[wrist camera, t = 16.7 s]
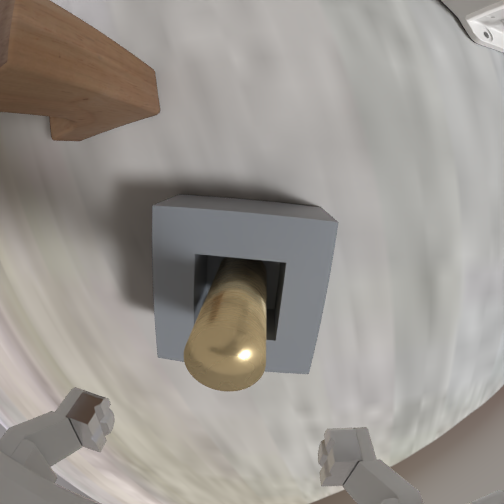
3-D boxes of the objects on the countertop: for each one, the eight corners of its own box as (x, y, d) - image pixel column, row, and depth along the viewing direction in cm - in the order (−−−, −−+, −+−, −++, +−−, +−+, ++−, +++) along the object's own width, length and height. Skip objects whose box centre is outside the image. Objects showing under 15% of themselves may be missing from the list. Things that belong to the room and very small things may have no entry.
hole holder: (320, 207, 25) (338, 222, 19) (301, 331, 28) (308, 374, 22) (179, 194, 25) (152, 205, 19) (178, 319, 29) (157, 357, 23)
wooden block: (78, 142, 24) (-82, 150, 7) (73, 100, 23) (-78, 78, 6) (162, 114, 23) (7, 62, 6) (155, 68, 22) (19, -21, 5)
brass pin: (268, 253, 25) (270, 331, 13) (264, 297, 26) (261, 394, 14) (219, 248, 25) (182, 321, 13) (217, 293, 26) (184, 385, 15)
